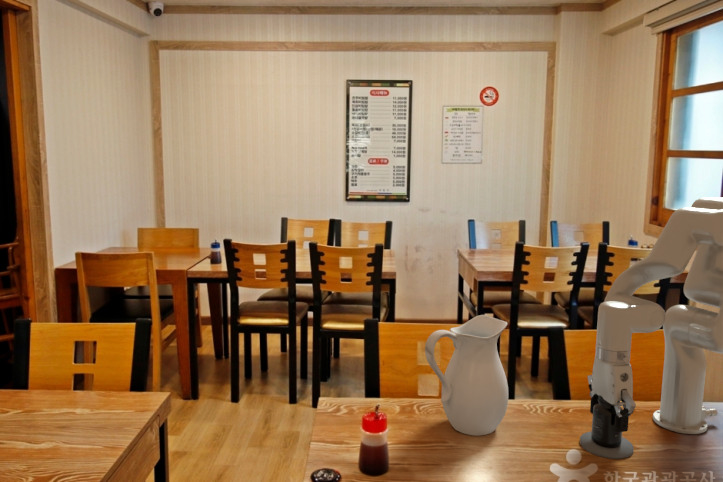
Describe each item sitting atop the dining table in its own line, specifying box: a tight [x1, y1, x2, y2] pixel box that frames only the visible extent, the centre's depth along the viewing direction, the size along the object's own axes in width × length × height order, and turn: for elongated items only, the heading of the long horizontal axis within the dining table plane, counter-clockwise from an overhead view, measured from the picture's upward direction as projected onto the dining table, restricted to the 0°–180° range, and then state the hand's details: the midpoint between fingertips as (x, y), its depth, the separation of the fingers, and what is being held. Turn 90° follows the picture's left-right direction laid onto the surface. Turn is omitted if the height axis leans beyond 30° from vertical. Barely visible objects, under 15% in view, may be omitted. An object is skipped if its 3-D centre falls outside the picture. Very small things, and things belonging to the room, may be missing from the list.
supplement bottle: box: [590, 395, 624, 448], centre depth 140 cm, size 7×7×12 cm
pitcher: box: [424, 314, 509, 437], centre depth 148 cm, size 24×17×28 cm
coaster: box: [579, 430, 634, 460], centre depth 141 cm, size 12×12×1 cm
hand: (608, 421), depth 140 cm, fingers open, 9 cm apart
